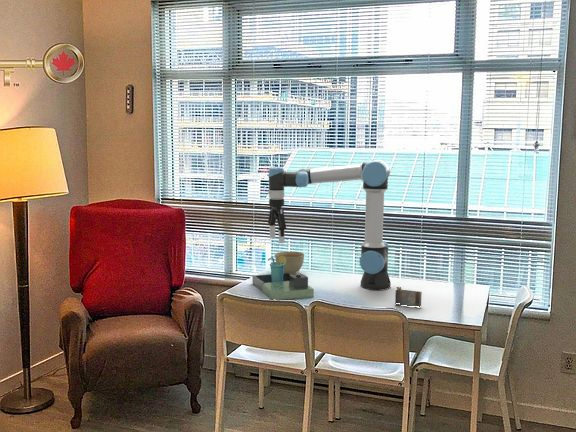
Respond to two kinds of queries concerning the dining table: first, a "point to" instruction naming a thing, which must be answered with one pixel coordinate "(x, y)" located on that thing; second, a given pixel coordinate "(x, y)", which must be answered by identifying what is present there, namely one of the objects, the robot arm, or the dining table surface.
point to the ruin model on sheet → (408, 297)
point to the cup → (277, 269)
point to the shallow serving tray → (284, 286)
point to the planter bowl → (291, 261)
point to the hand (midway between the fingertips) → (277, 240)
